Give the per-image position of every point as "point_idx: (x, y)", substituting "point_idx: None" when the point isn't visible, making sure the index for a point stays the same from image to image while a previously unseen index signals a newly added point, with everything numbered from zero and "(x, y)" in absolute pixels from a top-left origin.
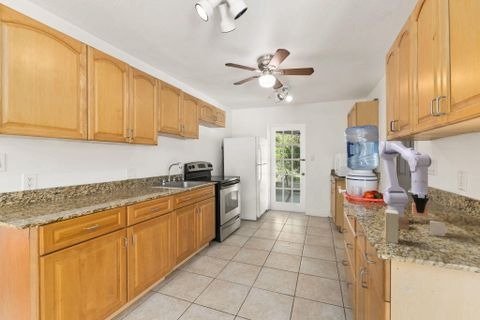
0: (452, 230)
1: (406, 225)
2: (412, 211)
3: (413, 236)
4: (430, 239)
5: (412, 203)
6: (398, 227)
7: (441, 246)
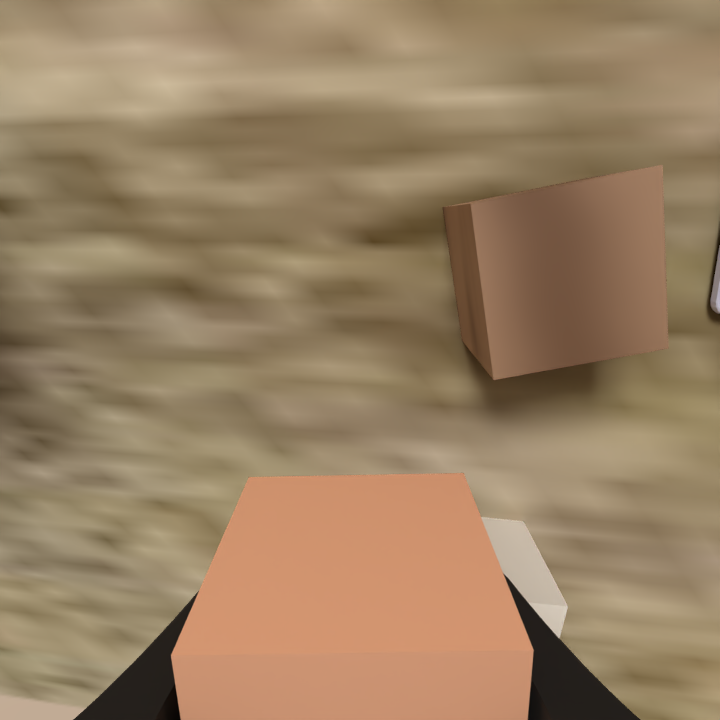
0: (667, 683)
1: (469, 329)
2: (373, 504)
3: (207, 371)
4: (209, 496)
5: (380, 647)
6: (448, 235)
7: (53, 547)
